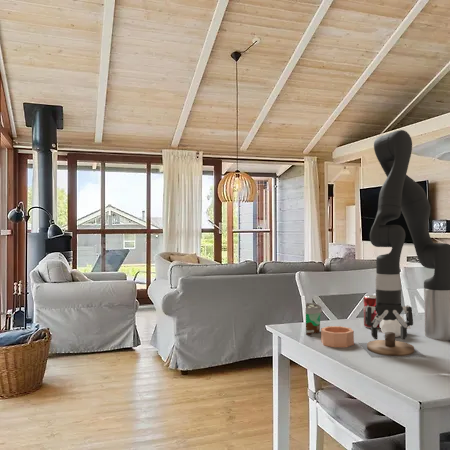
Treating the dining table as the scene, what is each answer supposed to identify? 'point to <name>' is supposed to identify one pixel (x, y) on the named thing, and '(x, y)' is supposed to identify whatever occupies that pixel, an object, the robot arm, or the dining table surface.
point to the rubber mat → (372, 354)
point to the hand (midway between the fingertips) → (389, 338)
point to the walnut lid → (390, 346)
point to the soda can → (371, 301)
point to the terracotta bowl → (337, 336)
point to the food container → (313, 318)
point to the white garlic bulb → (392, 326)
